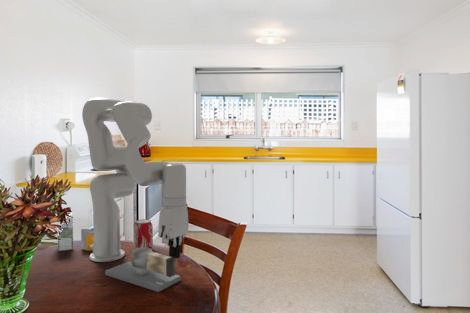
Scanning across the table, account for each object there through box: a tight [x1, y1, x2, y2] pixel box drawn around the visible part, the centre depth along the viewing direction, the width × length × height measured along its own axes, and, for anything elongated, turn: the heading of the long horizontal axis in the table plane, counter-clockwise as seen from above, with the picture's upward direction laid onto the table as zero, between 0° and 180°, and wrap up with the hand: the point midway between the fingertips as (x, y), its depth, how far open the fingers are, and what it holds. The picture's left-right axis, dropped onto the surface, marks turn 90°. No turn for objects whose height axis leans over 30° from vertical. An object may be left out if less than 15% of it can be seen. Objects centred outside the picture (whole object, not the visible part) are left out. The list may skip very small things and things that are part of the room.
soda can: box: [134, 218, 154, 250], centre depth 142 cm, size 7×7×12 cm
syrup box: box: [57, 212, 74, 252], centre depth 143 cm, size 6×6×14 cm
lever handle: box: [131, 247, 177, 277], centre depth 111 cm, size 17×6×5 cm, turn 55°
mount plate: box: [104, 261, 182, 293], centre depth 115 cm, size 24×10×4 cm, turn 58°
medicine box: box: [80, 223, 94, 251], centre depth 145 cm, size 8×4×9 cm, turn 167°
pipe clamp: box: [85, 234, 94, 251], centre depth 143 cm, size 12×4×6 cm, turn 92°
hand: (174, 257), depth 114 cm, fingers closed
